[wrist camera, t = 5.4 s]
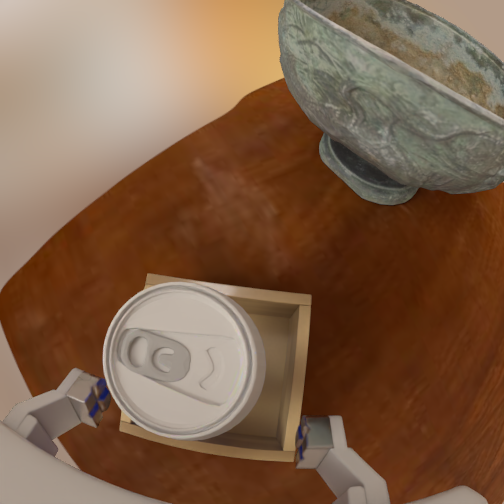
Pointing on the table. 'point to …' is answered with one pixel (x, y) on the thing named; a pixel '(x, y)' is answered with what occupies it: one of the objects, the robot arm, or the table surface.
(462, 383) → the table surface
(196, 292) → the beverage can
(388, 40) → the decorative bowl
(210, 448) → the wooden tray
